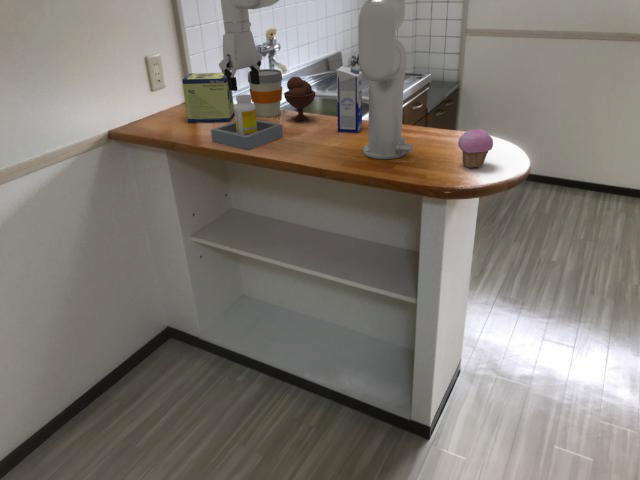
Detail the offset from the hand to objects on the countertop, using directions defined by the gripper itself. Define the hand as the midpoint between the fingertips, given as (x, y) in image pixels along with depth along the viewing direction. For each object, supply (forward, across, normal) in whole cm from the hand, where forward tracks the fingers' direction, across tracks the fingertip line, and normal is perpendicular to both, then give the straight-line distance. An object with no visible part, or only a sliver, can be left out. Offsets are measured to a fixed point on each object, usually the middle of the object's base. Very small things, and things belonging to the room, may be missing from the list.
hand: (244, 87), depth 166 cm
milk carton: (+18, -26, +21) cm, 37 cm away
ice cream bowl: (+17, -27, -1) cm, 32 cm away
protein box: (+16, -11, -30) cm, 36 cm away
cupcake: (+19, -15, +69) cm, 73 cm away
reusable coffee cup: (+16, -27, -17) cm, 36 cm away
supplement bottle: (+16, 0, -1) cm, 16 cm away
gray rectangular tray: (+16, 0, -1) cm, 17 cm away
